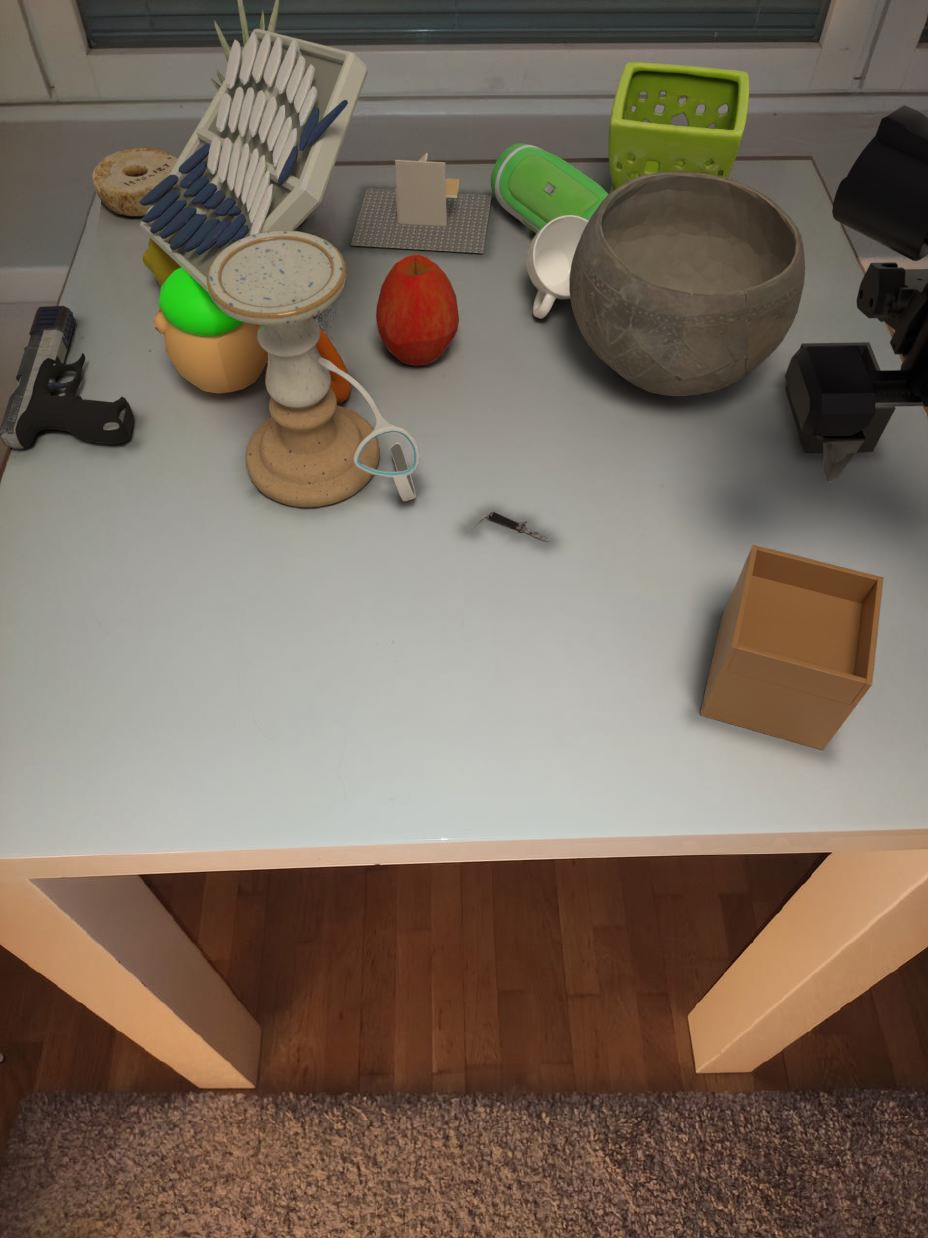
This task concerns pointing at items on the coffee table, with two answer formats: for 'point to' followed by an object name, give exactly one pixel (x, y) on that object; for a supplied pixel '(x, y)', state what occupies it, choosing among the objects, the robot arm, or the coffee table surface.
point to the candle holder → (294, 366)
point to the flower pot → (670, 145)
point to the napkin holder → (423, 212)
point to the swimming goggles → (403, 471)
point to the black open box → (881, 413)
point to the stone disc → (130, 178)
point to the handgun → (66, 410)
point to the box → (794, 647)
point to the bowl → (686, 281)
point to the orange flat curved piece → (330, 353)
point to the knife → (512, 524)
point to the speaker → (542, 187)
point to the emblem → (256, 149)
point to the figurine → (206, 338)
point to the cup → (553, 260)
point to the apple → (417, 311)
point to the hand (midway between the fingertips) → (890, 476)
